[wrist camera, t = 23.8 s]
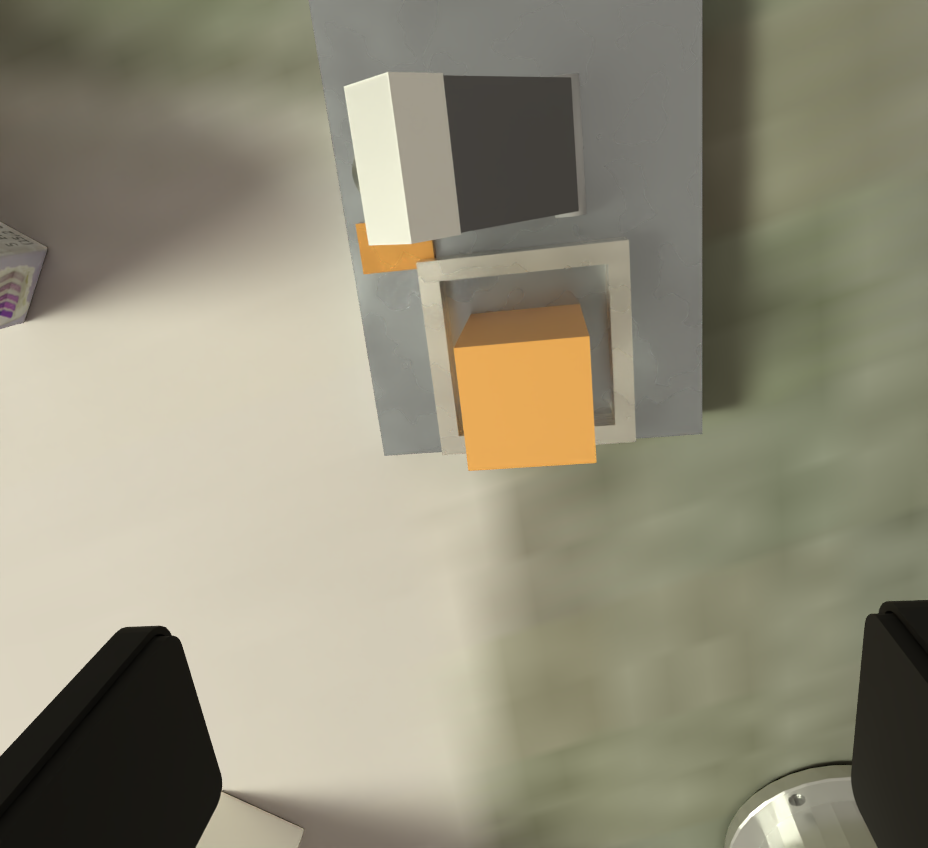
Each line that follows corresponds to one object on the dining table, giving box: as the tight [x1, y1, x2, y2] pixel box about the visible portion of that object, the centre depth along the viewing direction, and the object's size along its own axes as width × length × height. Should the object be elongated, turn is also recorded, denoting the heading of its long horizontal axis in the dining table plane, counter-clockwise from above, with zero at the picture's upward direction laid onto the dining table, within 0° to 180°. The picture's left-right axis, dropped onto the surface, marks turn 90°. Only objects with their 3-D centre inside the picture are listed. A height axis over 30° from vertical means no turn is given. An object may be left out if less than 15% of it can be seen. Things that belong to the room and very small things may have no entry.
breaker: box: [344, 72, 587, 245], centre depth 23 cm, size 2×5×9 cm
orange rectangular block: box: [454, 304, 596, 471], centre depth 26 cm, size 4×4×6 cm
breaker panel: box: [309, 0, 702, 456], centre depth 26 cm, size 14×28×4 cm, turn 7°
